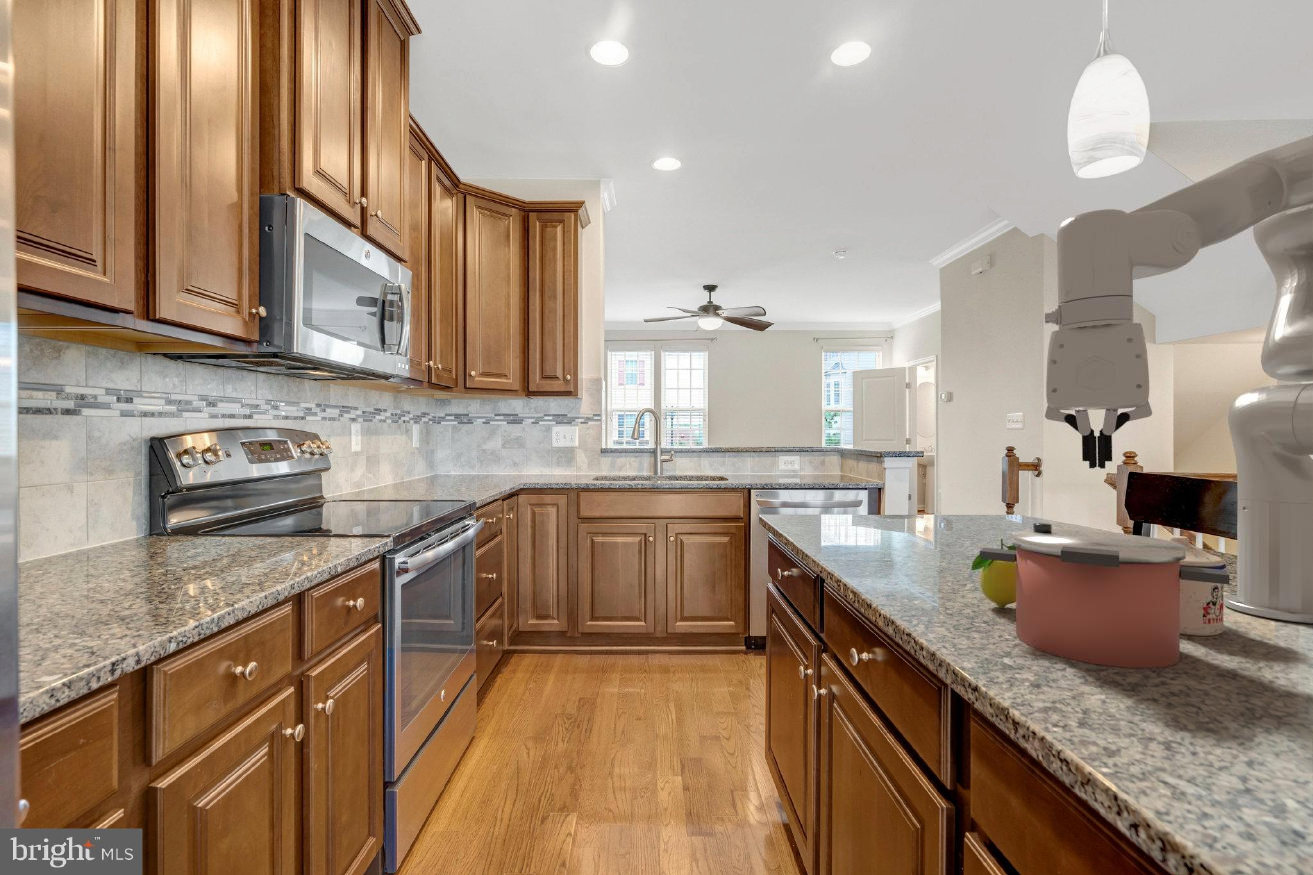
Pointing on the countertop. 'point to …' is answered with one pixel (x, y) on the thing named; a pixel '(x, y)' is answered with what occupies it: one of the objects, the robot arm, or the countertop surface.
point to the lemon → (998, 579)
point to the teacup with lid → (1200, 594)
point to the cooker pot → (1101, 607)
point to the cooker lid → (1097, 546)
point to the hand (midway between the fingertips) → (1097, 467)
